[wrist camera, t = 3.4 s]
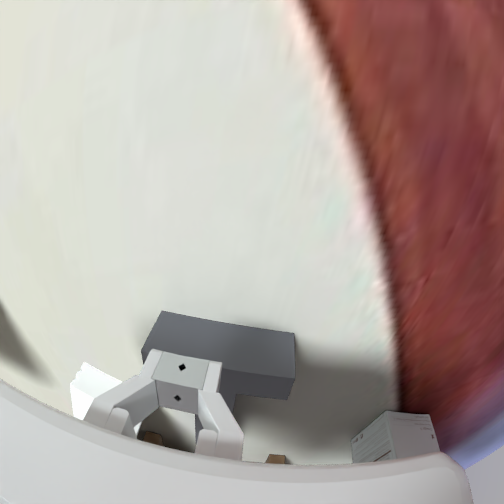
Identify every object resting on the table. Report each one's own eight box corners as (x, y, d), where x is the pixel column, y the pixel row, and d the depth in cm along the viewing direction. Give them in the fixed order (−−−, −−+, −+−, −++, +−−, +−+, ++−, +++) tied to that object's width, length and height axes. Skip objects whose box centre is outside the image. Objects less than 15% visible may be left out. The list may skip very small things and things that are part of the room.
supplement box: (430, 412, 26) (455, 501, 14) (392, 443, 29) (406, 524, 18) (386, 407, 25) (406, 513, 14) (347, 440, 28) (355, 532, 17)
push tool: (293, 332, 21) (295, 378, 17) (256, 445, 30) (253, 476, 26) (162, 309, 22) (141, 350, 17) (174, 430, 30) (166, 460, 26)
